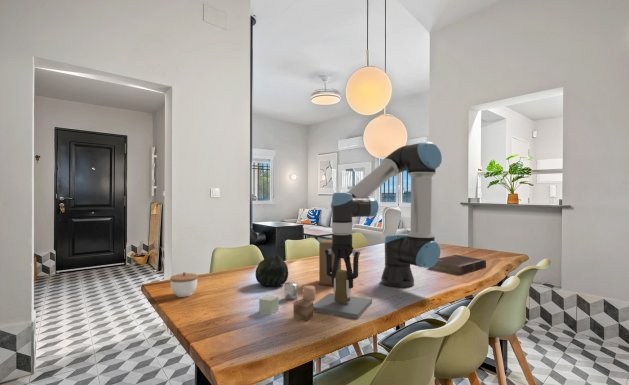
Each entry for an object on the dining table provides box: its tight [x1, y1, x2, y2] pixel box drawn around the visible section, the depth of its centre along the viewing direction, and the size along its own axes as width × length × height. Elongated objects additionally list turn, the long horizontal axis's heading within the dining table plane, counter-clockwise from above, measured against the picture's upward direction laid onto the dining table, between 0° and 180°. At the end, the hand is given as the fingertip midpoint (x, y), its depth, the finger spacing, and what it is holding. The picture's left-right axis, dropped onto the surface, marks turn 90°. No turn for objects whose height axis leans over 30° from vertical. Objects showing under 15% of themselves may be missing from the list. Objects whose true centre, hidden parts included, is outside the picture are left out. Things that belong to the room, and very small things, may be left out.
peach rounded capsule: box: [302, 285, 316, 302], centre depth 131 cm, size 5×5×5 cm
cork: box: [334, 269, 350, 302], centre depth 123 cm, size 6×6×11 cm
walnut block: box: [293, 299, 314, 323], centre depth 112 cm, size 5×5×5 cm
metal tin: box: [284, 281, 298, 302], centre depth 132 cm, size 5×5×6 cm
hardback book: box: [427, 254, 487, 276], centre depth 188 cm, size 29×19×5 cm, turn 128°
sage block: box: [258, 294, 280, 316], centre depth 118 cm, size 5×5×5 cm
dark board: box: [313, 292, 373, 320], centre depth 123 cm, size 18×18×2 cm
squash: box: [255, 254, 289, 287], centre depth 153 cm, size 14×15×15 cm
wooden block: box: [318, 238, 342, 286], centre depth 156 cm, size 10×10×20 cm
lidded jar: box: [170, 271, 199, 298], centre depth 138 cm, size 11×11×9 cm
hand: (342, 295), depth 123 cm, fingers closed on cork, 4 cm apart
